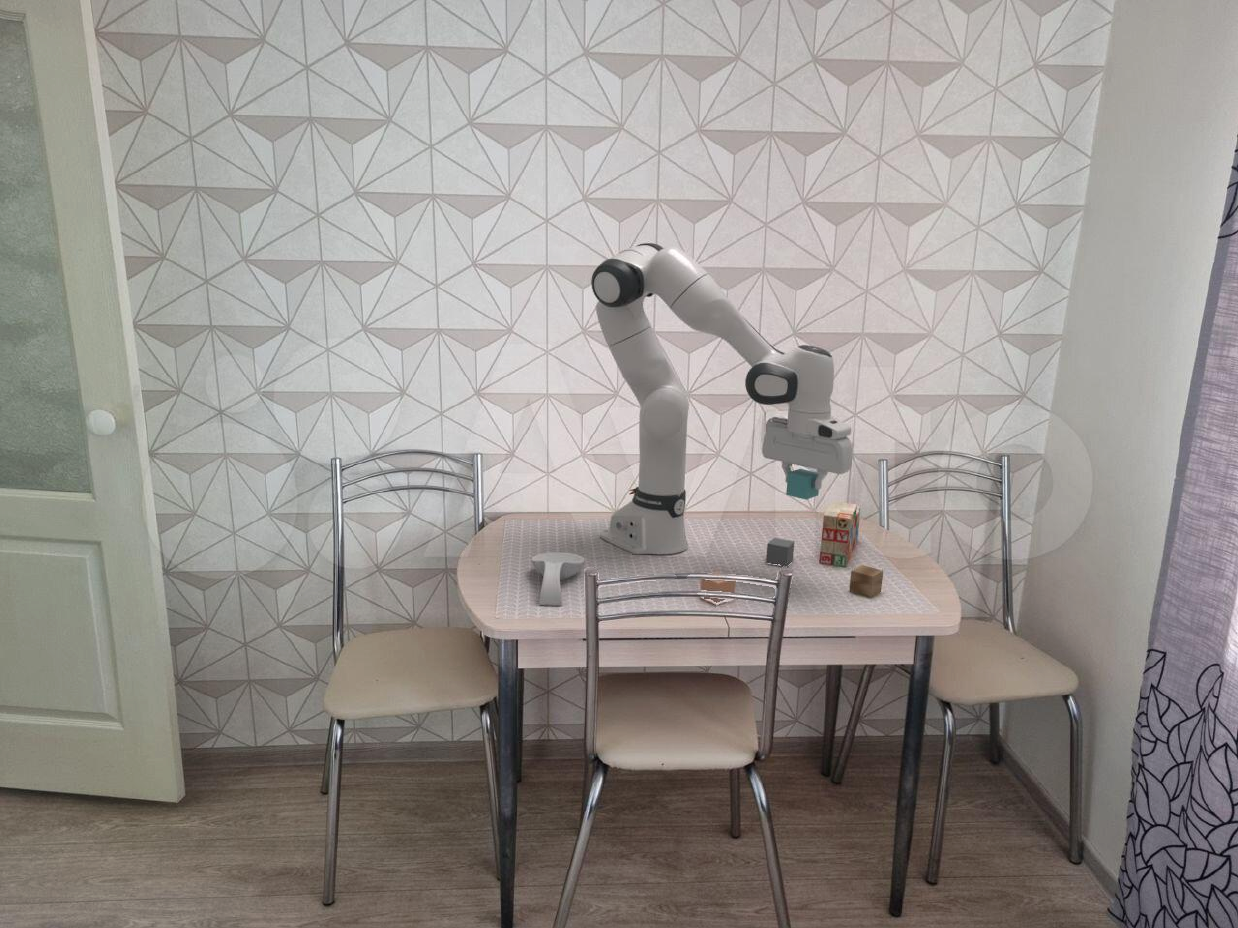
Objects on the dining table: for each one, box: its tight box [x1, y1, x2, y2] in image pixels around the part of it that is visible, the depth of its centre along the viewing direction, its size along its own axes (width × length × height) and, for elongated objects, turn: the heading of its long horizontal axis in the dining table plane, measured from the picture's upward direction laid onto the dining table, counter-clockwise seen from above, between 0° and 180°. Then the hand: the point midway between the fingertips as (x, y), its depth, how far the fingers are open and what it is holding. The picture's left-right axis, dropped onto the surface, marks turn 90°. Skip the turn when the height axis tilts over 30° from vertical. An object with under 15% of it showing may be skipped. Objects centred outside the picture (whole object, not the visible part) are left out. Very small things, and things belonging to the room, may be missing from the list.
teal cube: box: [785, 468, 820, 501], centre depth 194 cm, size 5×5×5 cm
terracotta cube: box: [700, 571, 736, 603], centre depth 188 cm, size 5×5×5 cm
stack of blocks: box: [818, 500, 861, 568], centre depth 218 cm, size 21×6×12 cm, turn 158°
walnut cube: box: [848, 564, 884, 599], centre depth 194 cm, size 5×5×5 cm
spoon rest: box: [530, 552, 585, 607], centre depth 193 cm, size 24×12×7 cm, turn 0°
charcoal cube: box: [765, 537, 795, 568], centre depth 211 cm, size 5×5×5 cm
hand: (803, 485), depth 194 cm, fingers closed on teal cube, 5 cm apart
